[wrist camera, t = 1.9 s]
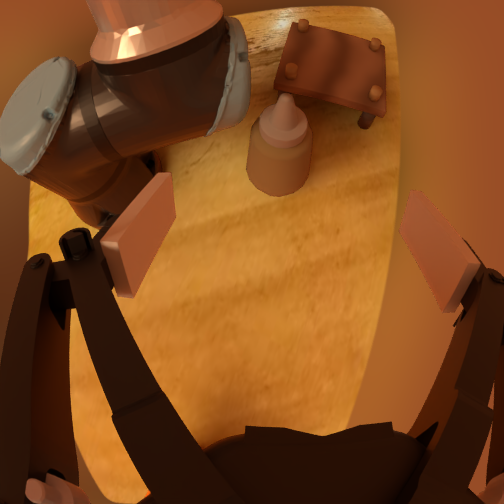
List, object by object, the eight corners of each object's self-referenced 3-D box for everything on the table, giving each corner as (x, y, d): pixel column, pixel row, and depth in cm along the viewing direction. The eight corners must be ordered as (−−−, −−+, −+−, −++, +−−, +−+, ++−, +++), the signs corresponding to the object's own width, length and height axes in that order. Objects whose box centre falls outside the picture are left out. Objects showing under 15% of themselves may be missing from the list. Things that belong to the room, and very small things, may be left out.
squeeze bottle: (264, 215, 40) (266, 152, 22) (237, 166, 41) (223, 83, 23) (315, 189, 40) (351, 118, 22) (287, 143, 41) (301, 57, 23)
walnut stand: (272, 108, 42) (274, 73, 34) (289, 46, 44) (293, 13, 36) (371, 134, 41) (390, 104, 33) (374, 68, 43) (387, 38, 35)
